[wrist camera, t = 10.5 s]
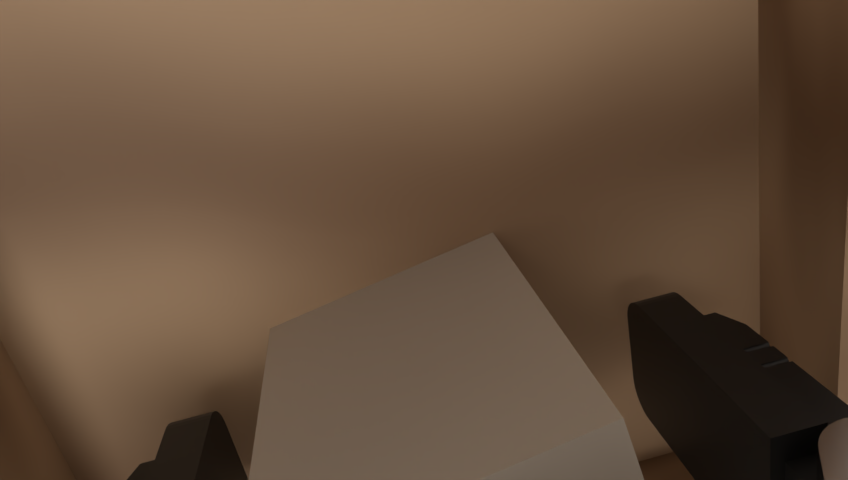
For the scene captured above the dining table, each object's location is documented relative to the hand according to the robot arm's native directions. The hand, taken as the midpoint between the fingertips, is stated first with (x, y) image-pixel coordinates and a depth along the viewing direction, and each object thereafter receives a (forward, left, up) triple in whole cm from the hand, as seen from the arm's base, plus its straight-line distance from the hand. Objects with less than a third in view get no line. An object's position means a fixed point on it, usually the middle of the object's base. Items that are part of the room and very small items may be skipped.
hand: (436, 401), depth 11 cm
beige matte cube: (0, 0, -1) cm, 1 cm away
